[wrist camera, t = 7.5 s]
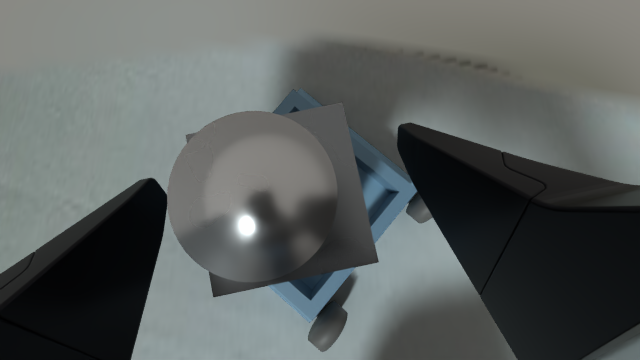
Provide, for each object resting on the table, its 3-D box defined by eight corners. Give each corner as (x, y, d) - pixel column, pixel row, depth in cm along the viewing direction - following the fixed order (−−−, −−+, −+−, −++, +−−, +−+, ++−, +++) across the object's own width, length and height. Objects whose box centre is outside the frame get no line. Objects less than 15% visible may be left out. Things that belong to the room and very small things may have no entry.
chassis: (320, 336, 18) (319, 363, 15) (190, 221, 19) (165, 225, 16) (436, 192, 19) (457, 189, 16) (306, 87, 19) (303, 67, 17)
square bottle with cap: (347, 227, 18) (414, 301, 5) (276, 242, 18) (140, 360, 5) (331, 156, 18) (353, 42, 5) (262, 171, 18) (103, 95, 5)
